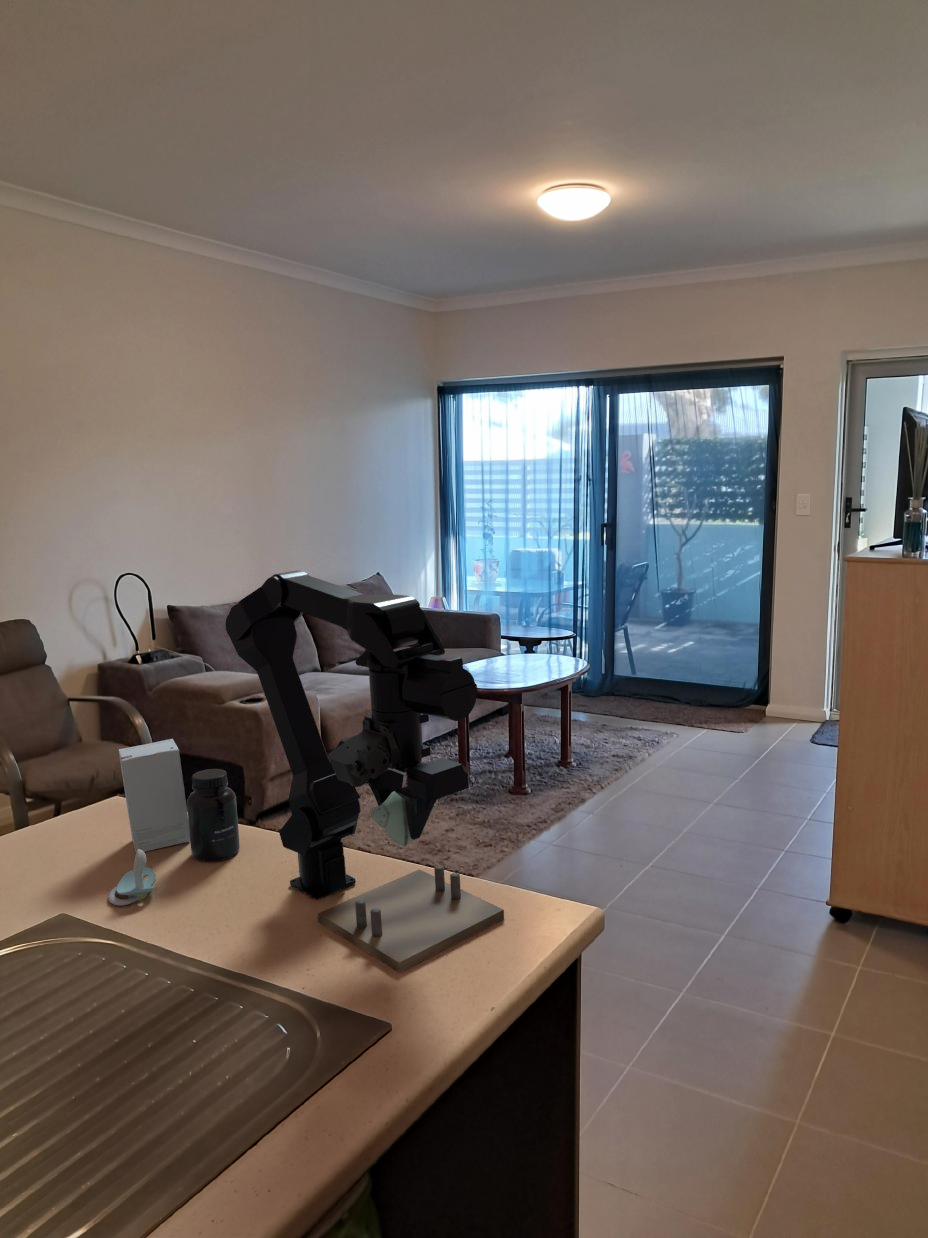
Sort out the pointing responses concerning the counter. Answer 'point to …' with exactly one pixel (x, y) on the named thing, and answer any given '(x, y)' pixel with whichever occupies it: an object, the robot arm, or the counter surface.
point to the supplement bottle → (212, 817)
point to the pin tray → (411, 918)
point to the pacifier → (134, 882)
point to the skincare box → (155, 795)
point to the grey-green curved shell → (394, 819)
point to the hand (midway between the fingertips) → (403, 833)
